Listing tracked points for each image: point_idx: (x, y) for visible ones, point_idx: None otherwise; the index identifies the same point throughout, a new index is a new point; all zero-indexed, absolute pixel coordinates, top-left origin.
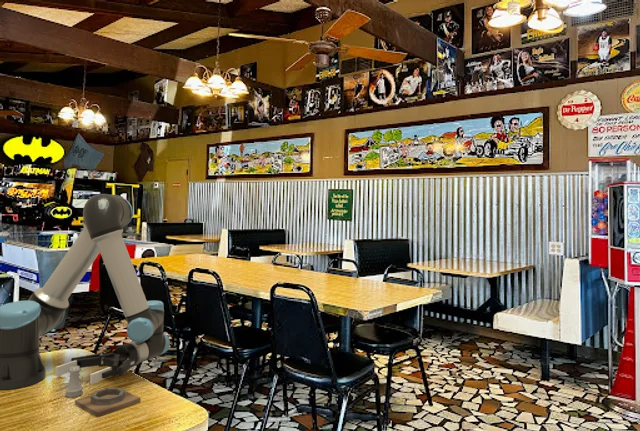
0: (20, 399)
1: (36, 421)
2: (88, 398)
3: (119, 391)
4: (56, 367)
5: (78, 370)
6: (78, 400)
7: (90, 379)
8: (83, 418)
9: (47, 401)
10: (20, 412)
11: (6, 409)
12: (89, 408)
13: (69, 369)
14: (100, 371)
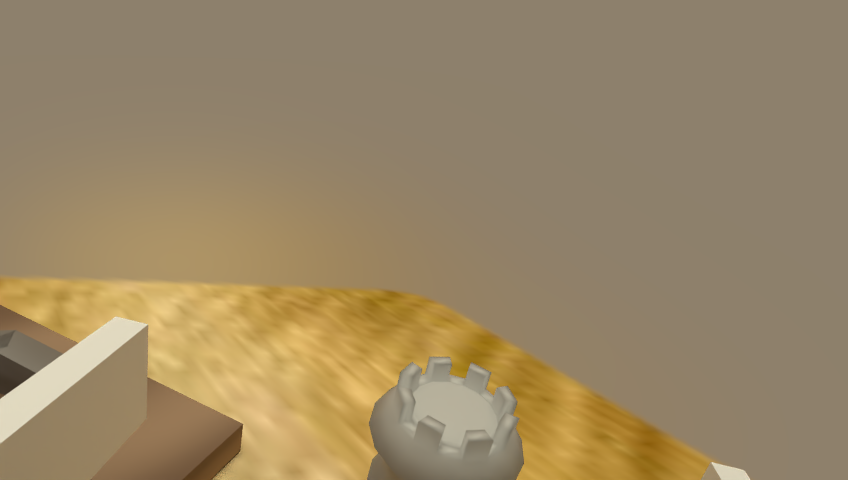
0: (658, 477)
1: (329, 306)
2: (135, 460)
3: None
4: (724, 468)
5: (378, 410)
6: (212, 423)
7: (140, 375)
8: (96, 321)
9: None
10: (475, 359)
11: (566, 378)
12: (74, 344)
13: (484, 390)
14: (2, 398)
